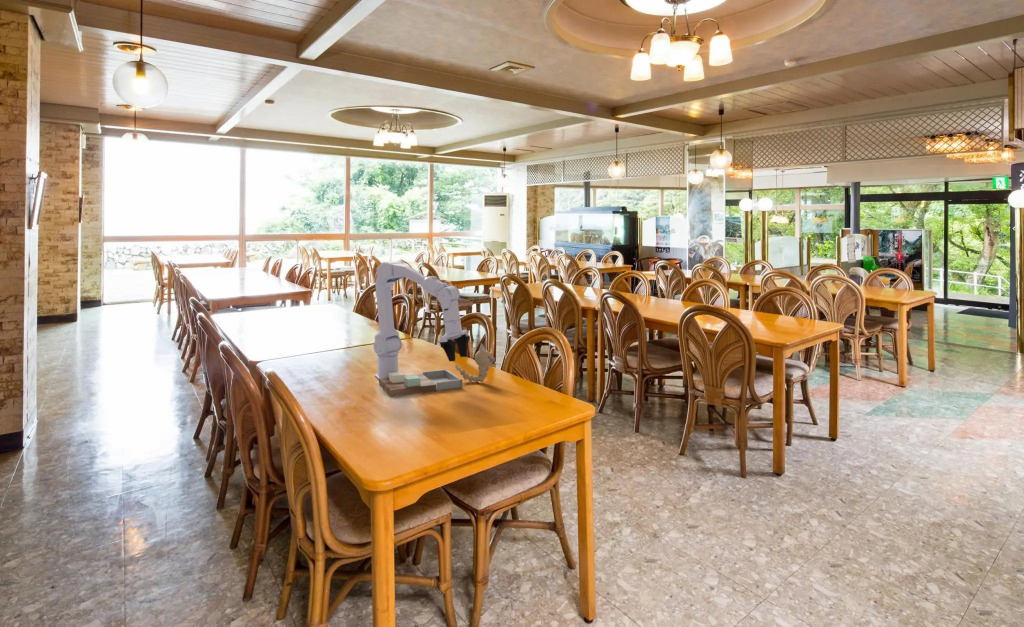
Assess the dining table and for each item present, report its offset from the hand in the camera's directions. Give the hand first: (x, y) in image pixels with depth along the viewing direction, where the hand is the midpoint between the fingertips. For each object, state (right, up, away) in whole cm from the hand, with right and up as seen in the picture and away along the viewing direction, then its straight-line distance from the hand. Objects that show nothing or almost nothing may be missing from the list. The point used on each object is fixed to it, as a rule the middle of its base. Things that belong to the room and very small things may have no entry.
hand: (457, 358), depth 205 cm
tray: (-6, -10, +7) cm, 14 cm away
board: (-18, -10, +2) cm, 21 cm away
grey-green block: (-16, -9, -3) cm, 18 cm away
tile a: (-22, -8, +2) cm, 23 cm away
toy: (+5, -10, +9) cm, 14 cm away
